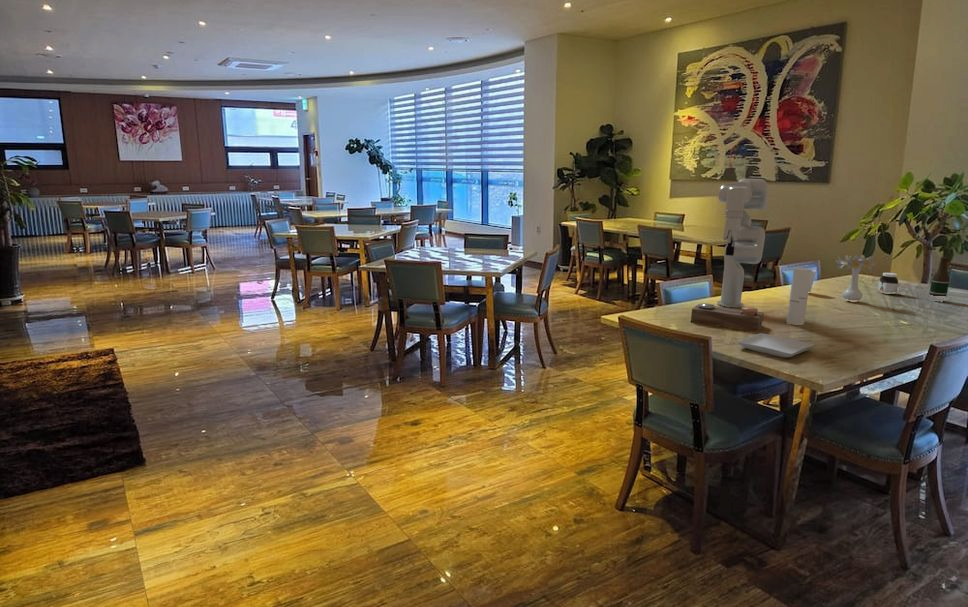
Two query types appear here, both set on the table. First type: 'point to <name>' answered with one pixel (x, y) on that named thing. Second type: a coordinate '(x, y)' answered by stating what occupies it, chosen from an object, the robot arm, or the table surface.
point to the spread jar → (889, 283)
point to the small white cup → (706, 306)
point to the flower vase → (854, 274)
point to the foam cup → (812, 279)
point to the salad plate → (775, 345)
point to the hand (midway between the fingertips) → (729, 255)
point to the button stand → (727, 318)
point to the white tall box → (798, 296)
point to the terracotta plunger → (749, 310)
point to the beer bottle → (940, 279)
